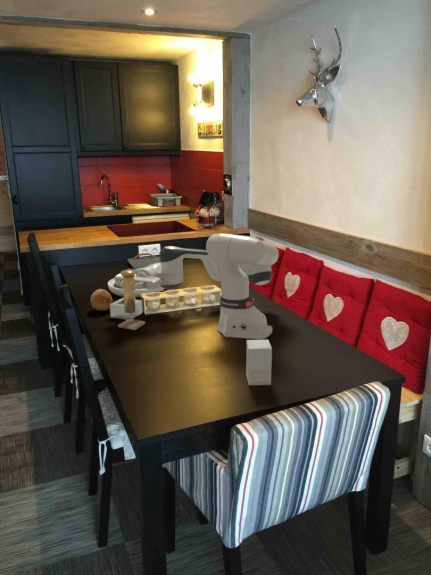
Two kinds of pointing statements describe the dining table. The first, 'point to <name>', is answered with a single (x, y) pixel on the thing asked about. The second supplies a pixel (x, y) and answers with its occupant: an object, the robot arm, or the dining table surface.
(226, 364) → the dining table surface
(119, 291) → the bowl
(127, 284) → the cover plug
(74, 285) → the dining table surface
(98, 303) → the onion
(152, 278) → the robot arm
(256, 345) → the supplement box
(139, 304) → the housing
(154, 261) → the serving board
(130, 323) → the coaster
